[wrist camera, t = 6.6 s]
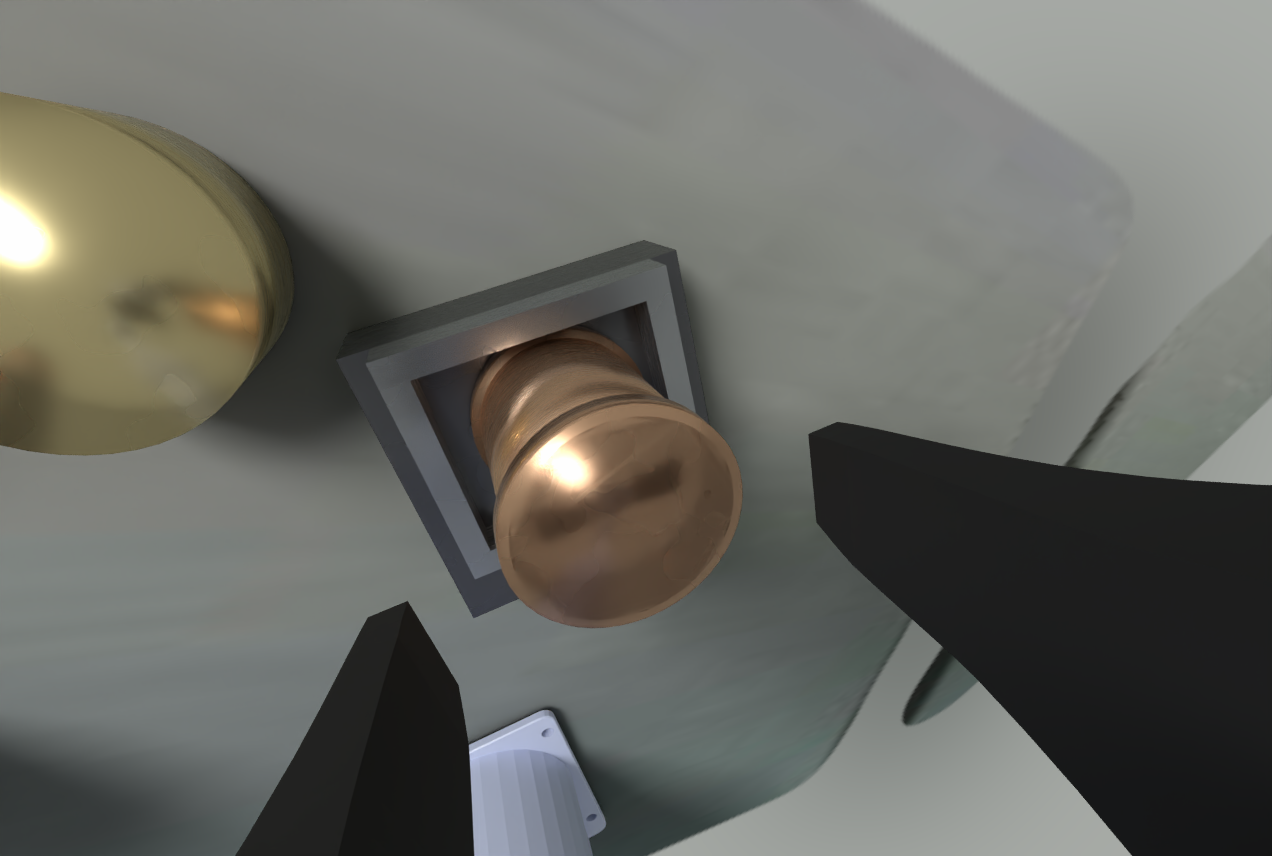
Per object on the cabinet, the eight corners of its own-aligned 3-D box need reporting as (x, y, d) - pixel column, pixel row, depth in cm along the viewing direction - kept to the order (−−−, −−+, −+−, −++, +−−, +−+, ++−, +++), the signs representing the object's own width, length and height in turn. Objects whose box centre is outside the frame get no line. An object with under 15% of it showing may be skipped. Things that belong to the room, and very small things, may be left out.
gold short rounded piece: (340, 342, 16) (318, 391, 12) (86, 422, 14) (-19, 502, 11) (204, 80, 12) (123, 46, 9) (-134, 152, 11) (-376, 144, 8)
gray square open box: (695, 475, 21) (758, 545, 17) (467, 569, 20) (480, 671, 16) (643, 240, 17) (712, 261, 13) (347, 333, 15) (322, 390, 11)
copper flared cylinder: (660, 443, 17) (762, 557, 12) (514, 512, 17) (557, 666, 11) (610, 296, 15) (711, 362, 10) (437, 369, 14) (447, 482, 9)
